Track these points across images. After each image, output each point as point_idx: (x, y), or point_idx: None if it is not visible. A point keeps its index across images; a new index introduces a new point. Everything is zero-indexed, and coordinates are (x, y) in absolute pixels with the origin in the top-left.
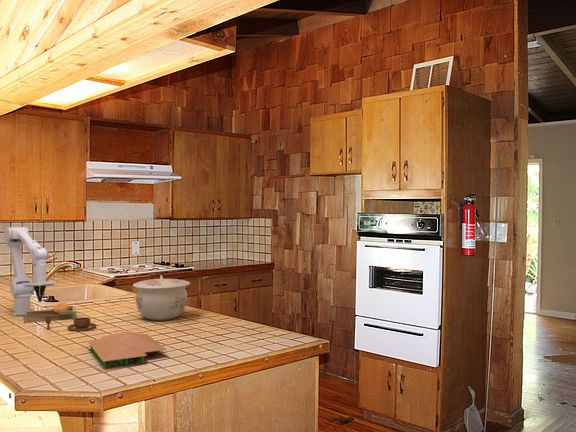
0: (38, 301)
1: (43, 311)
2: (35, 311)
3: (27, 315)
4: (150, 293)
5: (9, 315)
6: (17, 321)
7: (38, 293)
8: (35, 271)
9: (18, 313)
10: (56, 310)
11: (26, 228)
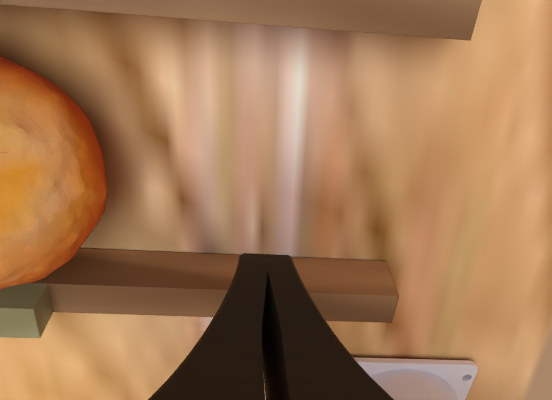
0: (291, 261)
1: (224, 289)
2: None
3: (380, 274)
4: None
5: (491, 387)
6: (502, 107)
7: (305, 363)
8: None
9: (436, 380)
10: (26, 99)
11: None
